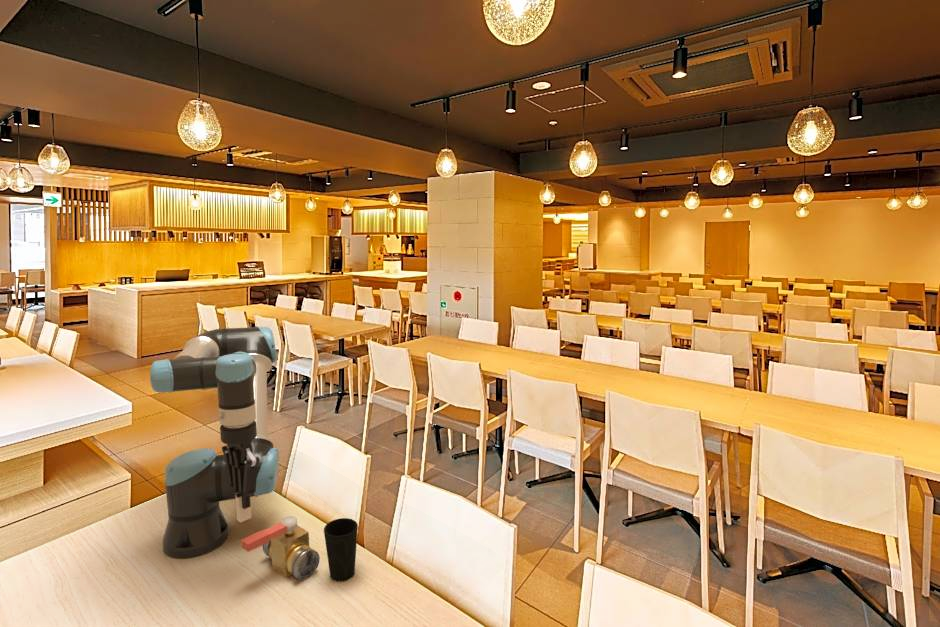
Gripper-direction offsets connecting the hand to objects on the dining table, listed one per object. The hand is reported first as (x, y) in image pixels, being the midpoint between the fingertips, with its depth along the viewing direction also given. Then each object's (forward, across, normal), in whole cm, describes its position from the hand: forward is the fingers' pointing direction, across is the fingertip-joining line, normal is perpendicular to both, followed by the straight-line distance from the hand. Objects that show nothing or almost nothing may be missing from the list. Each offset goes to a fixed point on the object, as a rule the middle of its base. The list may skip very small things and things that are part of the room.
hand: (244, 518), depth 120 cm
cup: (+14, +18, +14) cm, 27 cm away
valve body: (+13, +6, +8) cm, 17 cm away
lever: (+3, +6, +3) cm, 8 cm away
